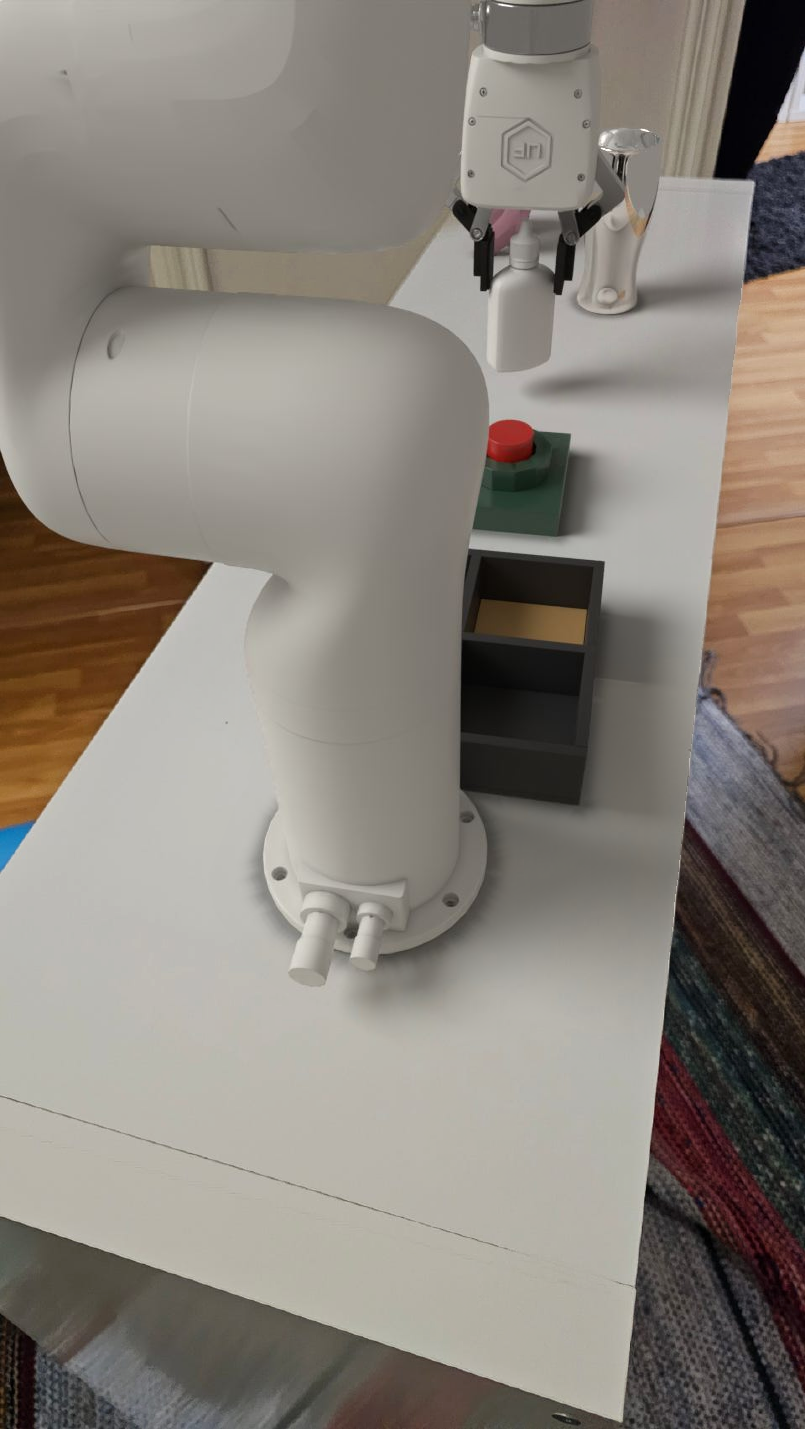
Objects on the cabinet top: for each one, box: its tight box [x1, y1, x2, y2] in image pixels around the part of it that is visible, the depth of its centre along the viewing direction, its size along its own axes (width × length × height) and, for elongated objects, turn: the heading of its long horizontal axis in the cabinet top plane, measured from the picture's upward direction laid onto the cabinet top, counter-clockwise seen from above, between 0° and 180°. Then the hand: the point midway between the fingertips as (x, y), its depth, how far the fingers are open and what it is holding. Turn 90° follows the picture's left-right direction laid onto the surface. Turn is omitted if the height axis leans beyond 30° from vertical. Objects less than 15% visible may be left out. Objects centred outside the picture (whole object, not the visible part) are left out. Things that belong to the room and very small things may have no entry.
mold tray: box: [460, 548, 606, 806], centre depth 62 cm, size 17×17×5 cm
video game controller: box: [489, 209, 532, 254], centre depth 107 cm, size 10×5×7 cm, turn 168°
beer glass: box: [576, 126, 664, 315], centre depth 93 cm, size 7×7×15 cm
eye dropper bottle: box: [486, 218, 556, 374], centre depth 81 cm, size 4×6×12 cm
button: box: [487, 419, 534, 463], centre depth 74 cm, size 4×4×2 cm
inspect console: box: [472, 428, 572, 538], centre depth 76 cm, size 11×9×4 cm
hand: (522, 284), depth 80 cm, fingers closed on eye dropper bottle, 5 cm apart
